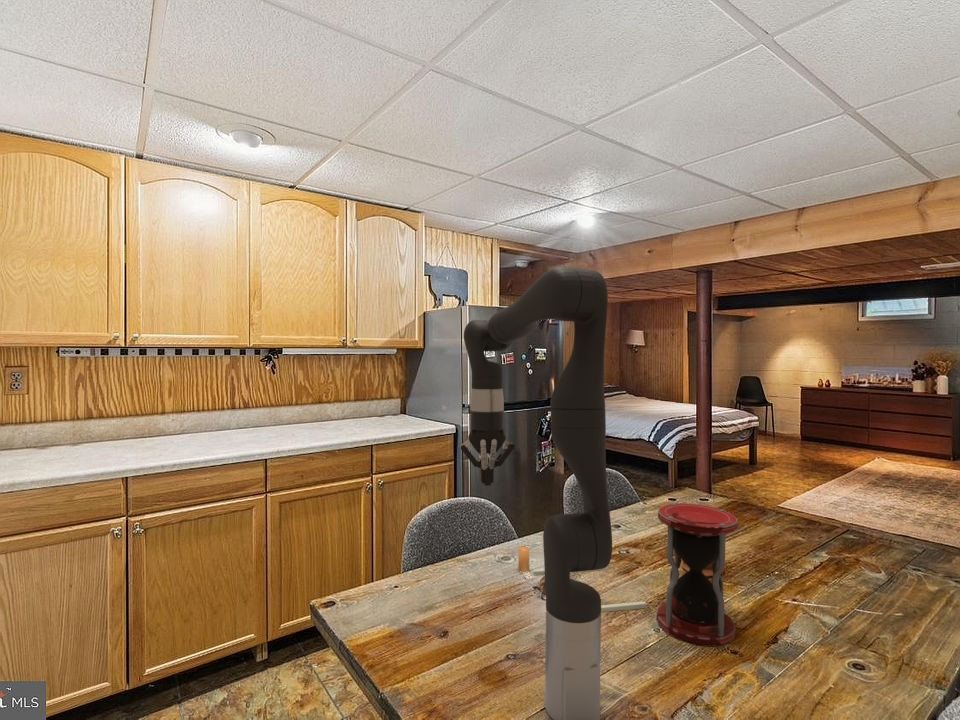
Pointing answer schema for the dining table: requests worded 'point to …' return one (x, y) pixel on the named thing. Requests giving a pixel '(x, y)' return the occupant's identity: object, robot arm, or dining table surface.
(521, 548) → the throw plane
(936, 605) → the dining table surface
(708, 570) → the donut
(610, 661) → the dining table surface
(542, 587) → the mineral rock
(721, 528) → the hourglass
